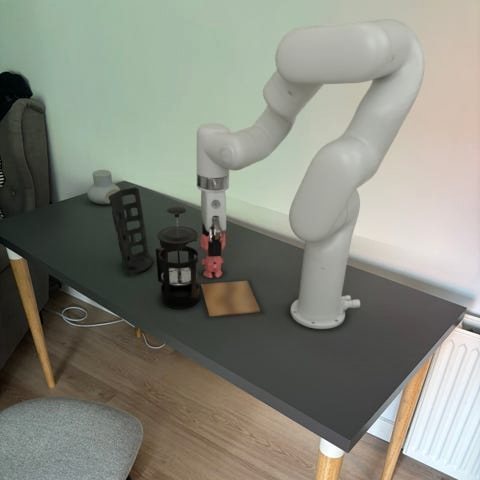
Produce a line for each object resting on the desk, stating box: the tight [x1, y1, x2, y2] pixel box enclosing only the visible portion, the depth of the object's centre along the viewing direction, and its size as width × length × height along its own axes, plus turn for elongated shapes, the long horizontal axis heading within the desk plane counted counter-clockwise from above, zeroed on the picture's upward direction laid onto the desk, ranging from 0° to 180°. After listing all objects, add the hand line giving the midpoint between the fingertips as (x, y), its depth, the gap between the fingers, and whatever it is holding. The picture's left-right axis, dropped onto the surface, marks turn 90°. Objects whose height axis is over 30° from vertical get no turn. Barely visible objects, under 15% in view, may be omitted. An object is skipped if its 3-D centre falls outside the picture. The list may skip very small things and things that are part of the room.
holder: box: [109, 187, 153, 276], centre depth 130 cm, size 11×8×20 cm
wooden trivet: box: [200, 280, 261, 317], centre depth 123 cm, size 12×14×1 cm
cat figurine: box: [199, 231, 227, 279], centre depth 129 cm, size 7×7×12 cm
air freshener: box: [86, 169, 121, 206], centre depth 169 cm, size 11×8×10 cm
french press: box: [155, 205, 201, 310], centre depth 116 cm, size 12×9×23 cm
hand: (211, 246), depth 129 cm, fingers open, 9 cm apart
